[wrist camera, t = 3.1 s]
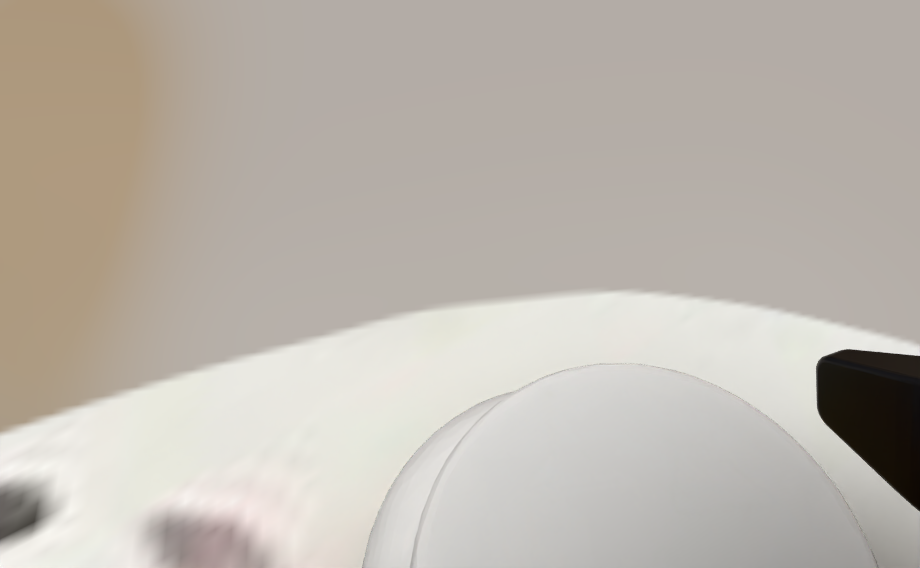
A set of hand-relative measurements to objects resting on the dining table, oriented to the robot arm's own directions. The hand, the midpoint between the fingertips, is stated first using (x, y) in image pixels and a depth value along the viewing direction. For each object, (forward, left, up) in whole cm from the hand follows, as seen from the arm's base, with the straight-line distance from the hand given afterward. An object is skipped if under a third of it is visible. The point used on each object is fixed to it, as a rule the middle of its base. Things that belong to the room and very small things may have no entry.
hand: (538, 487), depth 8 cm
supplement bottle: (-1, +1, -7) cm, 7 cm away
